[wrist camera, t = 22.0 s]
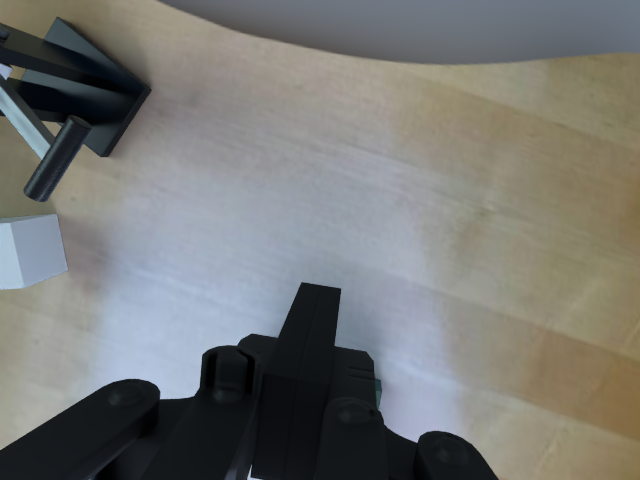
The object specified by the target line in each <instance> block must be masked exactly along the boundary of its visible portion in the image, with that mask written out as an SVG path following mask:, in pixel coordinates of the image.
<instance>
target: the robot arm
mask: <svg viewBox="0 0 640 480" xmlns="http://www.w3.org/2000/svg"><path fill="white" fill-rule="evenodd" d="M340 295H341V288H335V287H328V286H322V285H316V284H310V283H304V282H301V285H300V287H299V289H298V292H297V294H296V296H295V299H294V301H293V303H292V306H291V308H290V311H289V313H288V315H287V318H286V320H285V322H284V325H283V327H282V329H281V332H280V334H279V337H278V338H276V337H270V336H264V335H258V334H250V335H248V336H247V337H245V338H243V339H241V340H240V342H239V343H238V345H237V346H232V345H226V346H218V347H215V348H212V349H209V350H208V351H206V352H205V353H204V354H203V355H202V366H201V378H200V388H199V390H198V391H197V393H196V394H195V396H193V397H189V398H182V399H160V390H159V389H158V387H157V386H156V385H155V384H153V383H151V382H149V381H145V380H140V379H125V380H121V381H116V382H113V383H110V384H108V385H106V386H104V387H102V388H100V389H99V390H97V391H95V392H94V393H92V394H90V395H89V396H87V397H86V398H84V399H82V400H81V401H79V402H78V403H76V404H74V405H73V406H71V407H69V408H68V409H66V410H65V411H63V412H61V413H60V414H58V415H57V416H55V417H53V418H52V419H50V420H48V421H47V422H45V423H44V424H42V425H40V426H39V427H37V428H35V429H34V430H32V431H31V432H29V433H27V434H26V435H24V436H23V437H21V438H19V439H18V440H16V441H14V442H13V443H11V444H10V445H8V446H6V447H5V448H3V449H2V450H0V480H89V479H90V480H247V477H248V474H249V471H250V468H251V465H252V468H251V478H257V479H262V480H499V479H498V478H497V477H496V475H495V474H494V472H493V471H492V469H491V468H490V467H489V465H488V464H487V462H486V461H485V459H484V458H483V457H482V455H481V454H480V453H479V452H478V450H477V449H476V448H475V447H474V446H473V445H472V444H470V443H469V442H467V441H466V440H464V439H463V438H461V437H459V436H457V435H454V434H451V433H448V432H442V431H431V432H426V433H425V434H423V435H421V436H420V438H419V440H418V443H416V442H413V441H411V440H408V439H406V438H404V437H401V436H399V435H397V434H395V433H394V432H393V431H391V430H390V429H388V428H387V427H386V426H385V425H384V420H383V417H382V415H381V412H380V411H379V410H378V409H377V400H376V387H375V373H374V361H373V360H372V358H371V357H370V356H369V355H368V353H367V352H366V351H360V350H354V349H348V348H342V347H336V346H335V337H336V329H337V320H338V312H339V304H340Z"/></svg>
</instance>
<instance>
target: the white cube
mask: <svg viewBox="0 0 640 480" xmlns="http://www.w3.org/2000/svg"><path fill="white" fill-rule="evenodd" d="M66 271H68V268H67V263H66V258H65V253H64V248H63V243H62V237H61V232H60V227H59V222H58V217H57V214H49V215H36V216H22V217H9V218H0V289H16V288H26V287H28V286H31V285H33V284H36V283H38V282H41V281H43V280H46V279H48V278H51V277H53V276H56V275H58V274H61V273H63V272H66Z"/></svg>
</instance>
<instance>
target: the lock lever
mask: <svg viewBox="0 0 640 480" xmlns="http://www.w3.org/2000/svg"><path fill="white" fill-rule="evenodd" d="M12 69H13V68H12V67H11V66H10V65H9V64H7V63H3V62H0V110H1V111H2V112H3V113H4V114H5V116H6V117H7V118H8V119H9V121H10V122H11V123H12V124H13V126H14V127H15V128H16V129H17V130H18V132H19V133H20V134H21V135H22V137H23V138H24V139H25V140H26V142H27V143H28V144H29V145H30V146H31V148H32V149H33V150H34V151H35V153H36V154H37V155H38V156H39V158H40V159H41V162H40V163H39V165H38V167H37V168H36V170H35V172H34V173H33V175H32V176H31V178H30V180H29V181H28V183H27V185H26V186H25V188H24V194H25V195H26V196H28V197H29V198H31V199H33V200H35V201H38V202H45V201H47V200H48V198H49V197H50V195H51V193H52V192H53V190H54V189H55V187H56V186H57V184H58V182H59V181H60V179H61V178H62V176H63V175H64V173H65V171H66V170H67V168H68V167H69V165H70V163H71V162H72V160H73V159H74V157H75V156H76V154H77V152H78V151H79V149H80V148H81V146H82V145H83V143H84V141H85V140H86V138H87V137H88V135H89V134H90V132H91V130H92V127H91V125H90V124H89V123H87V122H86V121H85V120H83V119H81V118H79V117H77V116H74V115H70V116H68V118H67V120H66V121H65V123H64V125H63V126H62V128H61V129H60V131H59V133H58V134H57V136H56V138H55V137H54V136H53V134H52V133H51V132H50V131H49V130H48V128H47V127H46V126H45V125H44V124H43V123H42V121H41V120H40V119H39V118H38V117H37V116H36V114H35V113H34V112H33V111H32V110H31V109H30V107H29V106H28V105H27V104H26V103H25V102H24V100H23V99H22V98H21V97H20V96H19V95H18V93H17V92H16V91H15V90H14V89H13V88H12V86H11V85H10V84H9V83H8V82H7V81H6V80H7V78H8V76H9V75H10V73H11V71H12Z"/></svg>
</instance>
